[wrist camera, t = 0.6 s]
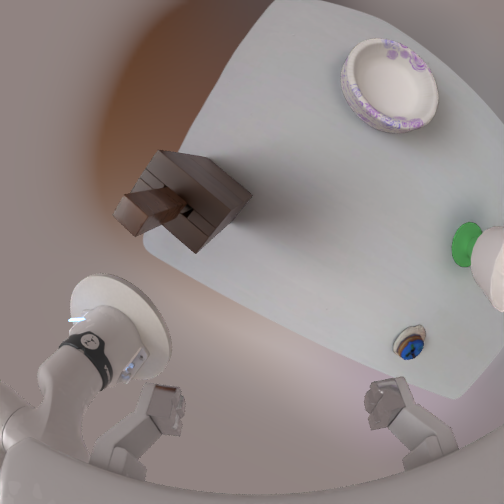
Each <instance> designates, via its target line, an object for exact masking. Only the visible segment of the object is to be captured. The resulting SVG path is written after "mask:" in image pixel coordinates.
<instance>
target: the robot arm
mask: <svg viewBox="0 0 504 504" xmlns="http://www.w3.org/2000/svg"><path fill="white" fill-rule="evenodd" d="M69 321H78V322H77V323H76V324H75V325H74V326H73V327H72V328H71V329H70V331H69V337H68V338H66V339H65V340H64V341H63V343H62V344H61V345H60V346H59V349H58V350H57V351H56V352H55V353H54V354H53V355H52V356H51V357H49V358H48V359H47V360H46V361H45V362H44V363H43V364H42V365H41V366H40V367H39V370H38V374H37V381H38V386H39V388H40V391H41V393H42V395H43V397H44V399H43V401H42V403H41V404H40V406H39V407H37V408H35V407H33V406H32V405H31V404H29V403H28V402H27V401H26V400H25V399H24V398H22V397H21V396H20V395H19V394H18V393H17V392H15V390H14V389H13V388H11V387H10V386H9V385H7V384H6V383H4V382H3V381H1V380H0V504H504V424H503V425H502V426H500V427H498V428H497V429H495V430H494V431H492V432H490V433H489V434H487V435H485V436H483V437H482V438H480V439H478V440H476V441H475V442H473V443H471V444H469V445H467V446H465V447H463V448H461V449H459V448H458V445H457V443H456V440H455V437H454V435H453V432H452V429H451V427H449V426H448V425H446V424H445V423H444V422H442V421H441V420H439V419H438V418H437V417H436V416H434V415H433V414H432V413H430V412H429V411H428V410H426V409H425V408H423V407H422V406H421V405H420V404H415V401H414V398H413V396H412V394H411V391H410V389H409V386H408V384H407V382H406V379H405V378H404V377H396V378H390V379H385V380H381V381H375V382H372V383H371V385H370V388H371V389H370V390H369V391H368V392H367V393H366V395H365V400H364V403H365V409H366V411H367V412H368V413H370V415H369V417H368V420H369V424H370V428H371V430H376V429H380V428H386V427H388V429H389V430H390V431H391V432H392V433H393V434H394V435H395V436H396V437H397V438H398V439H399V440H400V441H401V442H402V443H403V444H404V445H405V446H406V447H407V448H408V449H409V450H410V451H411V452H410V453H409V454H408V455H406V456H405V457H404V458H403V460H402V461H403V465H404V469H405V471H404V472H401V473H398V474H395V475H391V476H388V477H385V478H381V479H377V480H373V481H369V482H365V483H361V484H356V485H351V486H346V487H340V488H334V489H328V490H322V491H313V492H303V493H291V494H270V495H245V494H225V493H213V492H203V491H195V490H188V489H181V488H176V487H170V486H165V485H160V484H155V483H151V482H147V481H145V477H146V472H147V469H146V467H145V466H144V465H143V464H142V463H140V462H139V461H138V459H139V458H140V457H141V456H142V455H143V454H144V453H145V452H146V451H147V450H148V449H149V448H150V447H151V446H152V445H153V444H154V443H155V442H156V441H157V439H159V438H160V436H161V435H162V434H166V435H173V436H180V434H181V429H182V422H181V420H180V419H181V418H182V417H183V416H184V413H185V399H184V397H183V396H182V395H181V389H180V387H175V386H167V385H159V384H153V383H145V384H144V386H143V388H142V391H141V394H140V397H139V400H138V403H137V406H136V409H135V413H133V412H131V413H130V414H129V415H127V416H126V417H125V418H124V419H122V420H121V421H120V422H118V423H117V424H116V425H115V426H114V427H112V428H111V429H110V430H108V431H107V432H106V433H104V434H103V435H102V436H100V437H99V438H98V439H97V440H96V443H95V446H94V449H93V452H92V455H91V456H90V453H89V451H88V449H87V447H86V445H85V443H84V440H83V436H82V428H81V427H82V419H83V416H84V414H85V411H86V410H87V408H88V407H89V405H90V403H91V402H92V400H93V399H94V398H95V396H96V395H97V394H98V392H99V391H102V390H103V389H105V388H106V387H115V386H116V385H117V383H118V382H122V383H124V384H128V383H129V382H130V381H131V380H132V378H133V377H134V376H135V374H136V373H137V372H138V370H139V369H140V368H141V366H142V365H143V364H144V362H145V361H146V360H147V358H148V357H149V355H150V353H149V351H148V349H147V348H146V347H145V345H144V344H143V343H142V341H141V338H140V335H139V333H138V331H137V329H136V327H135V326H134V324H133V323H132V322H131V320H130V319H129V318H128V317H127V316H126V315H125V314H123V313H122V312H121V311H119V310H118V309H116V308H114V307H111V306H108V305H100V306H97V307H95V308H94V309H84V310H83V311H82V313H81V318H71V319H70V320H69Z"/></svg>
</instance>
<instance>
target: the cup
mask: <svg viewBox="0 0 504 504" xmlns="http://www.w3.org/2000/svg"><path fill="white" fill-rule="evenodd" d="M452 256H453V258H454V260H455V262H456V263H457V264H458V265H459V266H461V267H468V266H470V265H471V271H472V274H473V277H474V280H475V282H476V283H477V284H478V285H479V287H480V288H481V289H482V291H483V292H484V294H485V295H486V296H487V298H488V299H489V301H490V302H491V303H492V305H493V306H494V307H495V308H496V309H497V310H498V311H500V312H504V227H495V226H494V227H491V228H489V229H487V230H485V231H484V232H483V233H482V232H481V229H480V227H479V226H478V225H477V224H475V223H471V222H468V223H465V224H463V225H462V226H461V227H460V228H459V229H458V230H457V232H456V234H455V236H454V238H453V243H452Z"/></svg>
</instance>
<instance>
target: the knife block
mask: <svg viewBox="0 0 504 504" xmlns="http://www.w3.org/2000/svg"><path fill="white" fill-rule="evenodd" d="M164 187H169V188H170V189H171V190H172V191H174V192H175V193H176V194H177V195H178V196H179V197H181V198H182V199H183V200H184V201H185V202H186V203H187V204H188V205H189V206H191V207H192V208H193V209H192V210H189V211H187V212H184V213H181V212H180V213H179V215H178V216H177V218H176V219H173V220H171V221H169V222H167V223H164V224H162V225H163V226H164V227H165V228H166V229H167V230H168V231H170V232H171V233H172V234H173V235H174V236H175V237H176V238H178V239H179V240H180V241H181V242H182V243H183V244H185V245H186V246H187V247H188V248H189V249H190V250H191V251H193V252H194V253H195V254H196V253H198V252H199V251H200V250H201V249H202V248H203V247H204V246H205V245H206V244H207V243H208V242H210V241H211V240H212V239H213V238H214V237H215V236H216V235H217V234H218V233H219V232H221V231H222V230H223V229H224V228H225V227H226V226H227V225H228V224H229V223H230V222H231V221H232V220H233V219H234V218H235V216H236V215H237V214H238V213H239V212H240V211H241V209H242V208H243V207H244V206H245V205H246V203H247V202H248V201H249V200H250V199H251V198H252V196H253V195H252V194H251V193H250V192H248V191H247V190H246V189H245V188H244V187H242V186H241V185H240V184H239V183H238V182H236V181H235V180H234V179H233V178H232V177H230V176H229V175H228V174H227V173H226V172H224V171H223V170H222V169H221V168H219V167H218V166H217V165H216V164H214V163H213V162H212V161H211V160H210V159H208V158H207V157H202V156H196V155H190V154H184V153H177V152H171V151H163V150H158V151H157V152H156V154H155V155H154V157H153V158H152V160H151V161H150V162H149V164H148V165H147V167H146V169H145V170H144V171H143V173H142V174H141V176H140V178H139V179H138V181H137V183H136V184H135V186H134V187H133V189H132V191H131V192H130V193H134V192H140V191H146V190H152V189H158V188H164Z"/></svg>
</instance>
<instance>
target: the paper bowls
mask: <svg viewBox="0 0 504 504" xmlns="http://www.w3.org/2000/svg"><path fill="white" fill-rule="evenodd" d="M341 87H342V91H343V94H344V96H345V99H346V101H347V102H348V104H349V106H350V107H351V109H352V110H353V111H354V112H355V114H356V115H357V116H358V117H359V118H360V119H361V120H363V121H364V122H365V123H367V124H368V125H370V126H371V127H373V128H375V129H377V130H380V131H383V132H388V133H405V132H409V131H412V130H415V129H418V128H421V127H423V126H425V125H426V124H427V123H429V122H430V121H431V119H432V118H433V116H434V115H435V113H436V110H437V107H438V89H437V85H436V82H435V79H434V76H433V74H432V72H431V71H430V69H429V68H428V66H427V65H426V64H425V62H424V61H423V60H422V59H421V58H420V56H418V55H417V54H416V53H415V52H414V51H412V50H411V49H409V48H408V47H406V46H405V45H403V44H401V43H398V42H396V41H393V40H389V39H382V38H374V39H369V40H365V41H363V42H361V43H359V44H358V45H356V46H355V47H354V48H353V49H352V51H351V52H350V54H349V55H348V57H347V59H346V61H345V63H344V65H343V67H342V70H341Z"/></svg>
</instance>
